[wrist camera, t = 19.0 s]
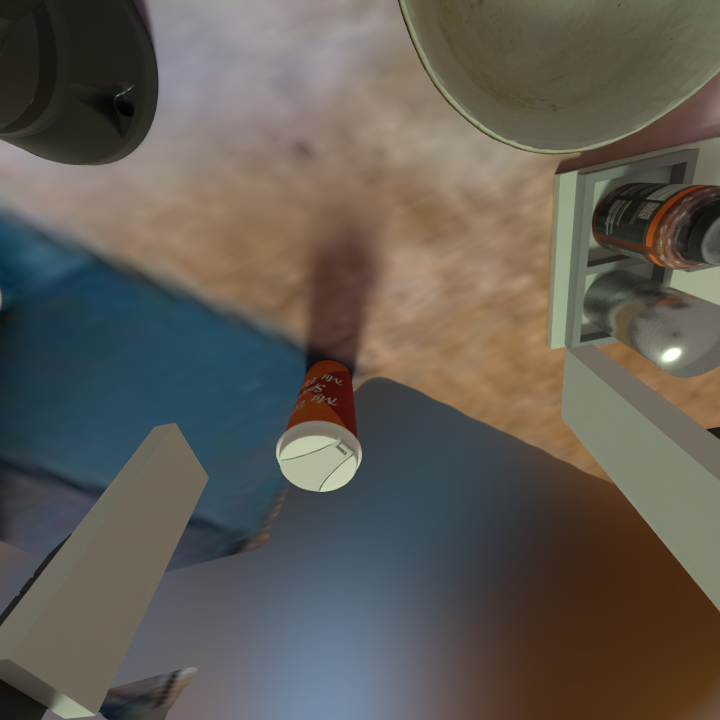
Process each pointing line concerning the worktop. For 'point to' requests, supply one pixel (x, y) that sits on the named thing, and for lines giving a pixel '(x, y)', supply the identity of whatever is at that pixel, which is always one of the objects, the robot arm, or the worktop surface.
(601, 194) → the pale green compartment tray
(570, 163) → the worktop surface
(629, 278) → the cylinder
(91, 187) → the worktop surface
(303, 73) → the worktop surface
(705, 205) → the supplement bottle
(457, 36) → the bowl
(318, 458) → the paper cup
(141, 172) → the worktop surface
